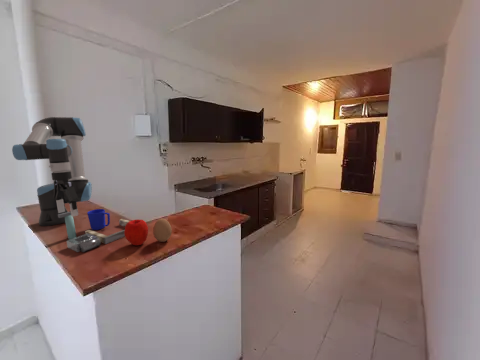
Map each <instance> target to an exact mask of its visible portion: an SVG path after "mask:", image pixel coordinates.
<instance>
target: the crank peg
mask: <svg viewBox="0 0 480 360" xmlns="http://www.w3.org/2000/svg"><path fill="white" fill-rule="evenodd" d="M58 217H59V218H62V217H65V222H64V223H65V226H66V227H65V228H66V234H67V235H66V236H67V240H69V239H72V238H75V237H77V231H76V226H75V221H74V220H75V219H74V216H73V217H71V211H68V212H66V213H62V214H58Z"/></svg>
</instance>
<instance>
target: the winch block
mask: <svg viewBox="0 0 480 360" xmlns="http://www.w3.org/2000/svg"><path fill="white" fill-rule="evenodd" d="M101 244H102V242H100V239H99V238H98V237H96V236H94V235H91V234H88V233H87V234H86V233H84V234H82V235H78V236H76V237H75V238H72V239H67V240H66V246H67V248H68V249H69V250H72V251H74V252H76V253H79V252H82V253H85V252H87V251H89V250H92V249H95V248H97V247H99V246H101Z"/></svg>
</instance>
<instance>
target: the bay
mask: <svg viewBox="0 0 480 360" xmlns="http://www.w3.org/2000/svg"><path fill="white" fill-rule="evenodd" d="M129 221H130V220H128V219H124V218H120V219H119V220H118V223H119V226H122V227H125V226H126V224H127V223H128V222H129ZM124 231H125V229H123V230H119V231H117V232H113V233H111V234H109V235H106V234H103V233H100V232H97V231H95V230H92V229H88V230H85V231H84V234H87V233H88V234H91V235H94V236H96V237H98V238H99V239H100V242H101V244H105V245H106V244H110V243H113V242H115V241H118V240H120V239H122V238H124V237H125V235H124ZM125 238H126V237H125Z"/></svg>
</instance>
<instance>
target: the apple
mask: <svg viewBox="0 0 480 360" xmlns="http://www.w3.org/2000/svg"><path fill="white" fill-rule="evenodd" d="M128 221H129V222H128V223H127V224H126V226H124V230H125V231H124V235H125V239H126V241H127V242H129V243H130V244H131V245H132V246H141V245H143V244H144V243H146V240H147V238H148V234H149V226H148V224H147V222H146V221H145V220H144V219H140V218H139V219H133V220H128Z"/></svg>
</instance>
